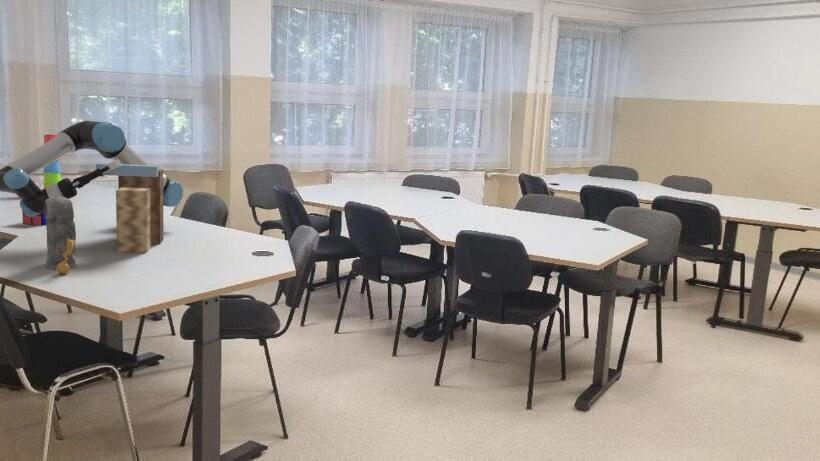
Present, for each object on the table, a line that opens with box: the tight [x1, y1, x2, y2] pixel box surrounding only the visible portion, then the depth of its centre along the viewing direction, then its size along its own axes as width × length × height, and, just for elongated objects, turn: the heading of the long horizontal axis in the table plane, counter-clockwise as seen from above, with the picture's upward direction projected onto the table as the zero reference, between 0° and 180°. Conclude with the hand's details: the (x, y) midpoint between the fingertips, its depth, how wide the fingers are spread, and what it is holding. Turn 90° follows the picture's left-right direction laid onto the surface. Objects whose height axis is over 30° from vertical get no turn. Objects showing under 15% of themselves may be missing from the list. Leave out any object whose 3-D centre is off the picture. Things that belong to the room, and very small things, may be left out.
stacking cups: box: [42, 134, 62, 189], centre depth 402 cm, size 10×10×35 cm
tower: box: [117, 168, 165, 245], centre depth 297 cm, size 16×9×30 cm, turn 101°
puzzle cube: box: [21, 209, 47, 227], centre depth 325 cm, size 10×10×10 cm
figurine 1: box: [44, 195, 77, 270], centre depth 251 cm, size 10×14×25 cm
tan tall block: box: [115, 188, 152, 253], centre depth 281 cm, size 11×9×24 cm
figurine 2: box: [55, 239, 76, 275], centre depth 241 cm, size 8×6×12 cm
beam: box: [95, 162, 159, 177], centre depth 277 cm, size 22×4×4 cm, turn 100°
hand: (118, 162), depth 276 cm, fingers closed on beam, 4 cm apart
